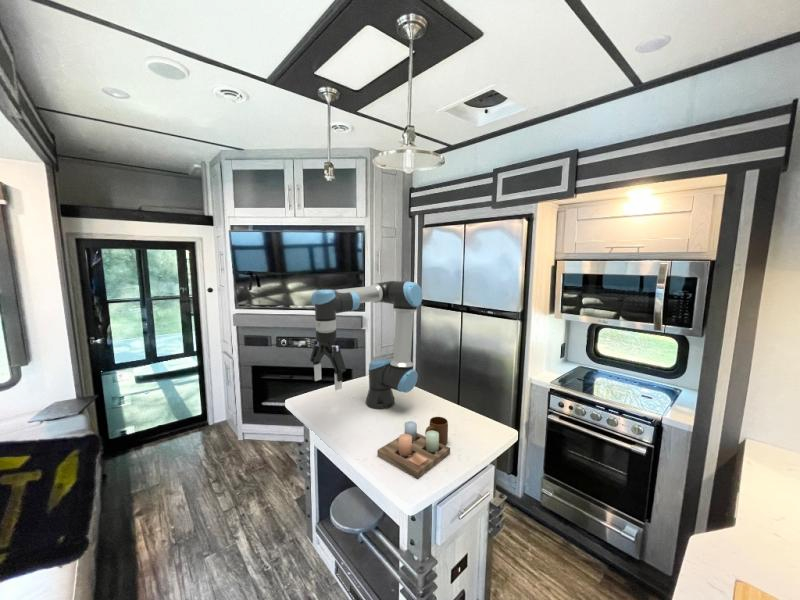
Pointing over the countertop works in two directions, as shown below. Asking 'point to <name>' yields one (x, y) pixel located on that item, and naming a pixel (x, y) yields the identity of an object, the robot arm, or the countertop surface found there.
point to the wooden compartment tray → (413, 456)
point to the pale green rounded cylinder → (432, 441)
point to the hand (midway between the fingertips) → (328, 384)
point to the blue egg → (411, 429)
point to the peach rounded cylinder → (405, 444)
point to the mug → (439, 428)
